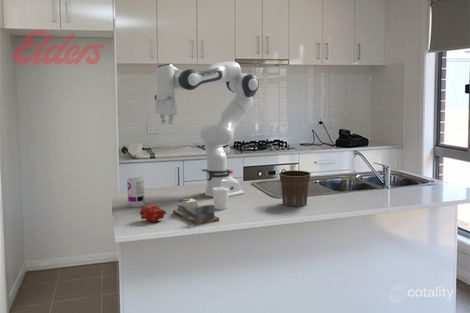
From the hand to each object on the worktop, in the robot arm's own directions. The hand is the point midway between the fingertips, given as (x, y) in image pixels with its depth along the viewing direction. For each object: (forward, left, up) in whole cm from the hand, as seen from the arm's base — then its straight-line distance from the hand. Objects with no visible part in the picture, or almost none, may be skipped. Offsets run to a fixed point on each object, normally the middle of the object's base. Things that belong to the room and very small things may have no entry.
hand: (166, 123), depth 239 cm
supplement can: (+16, -5, -42) cm, 45 cm away
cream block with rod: (+2, +25, -40) cm, 47 cm away
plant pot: (-53, +37, -42) cm, 77 cm away
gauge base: (0, +31, -41) cm, 52 cm away
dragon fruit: (+19, +27, -42) cm, 53 cm away
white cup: (-18, +23, -42) cm, 51 cm away
